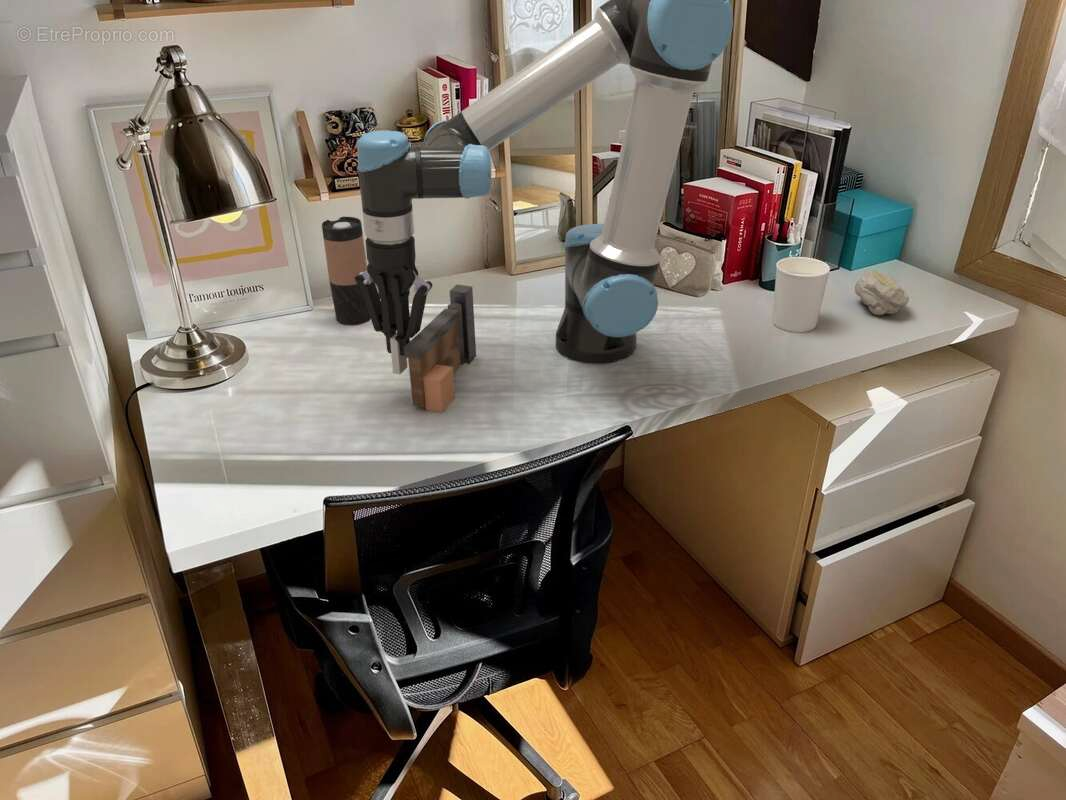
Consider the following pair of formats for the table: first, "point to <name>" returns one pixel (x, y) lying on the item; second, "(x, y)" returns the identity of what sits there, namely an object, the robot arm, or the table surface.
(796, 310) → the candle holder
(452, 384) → the block
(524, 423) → the table surface
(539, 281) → the table surface
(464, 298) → the hinge post
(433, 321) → the walnut gate
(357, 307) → the travel mug
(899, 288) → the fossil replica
